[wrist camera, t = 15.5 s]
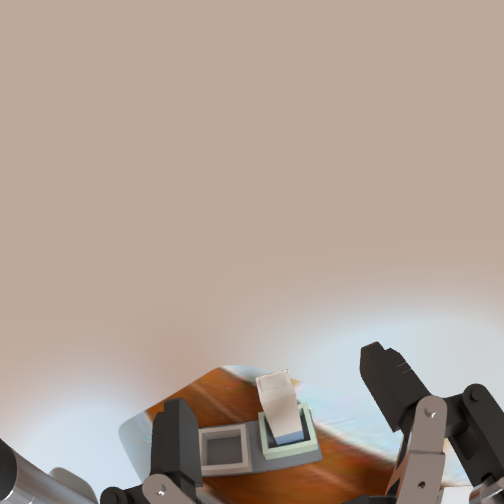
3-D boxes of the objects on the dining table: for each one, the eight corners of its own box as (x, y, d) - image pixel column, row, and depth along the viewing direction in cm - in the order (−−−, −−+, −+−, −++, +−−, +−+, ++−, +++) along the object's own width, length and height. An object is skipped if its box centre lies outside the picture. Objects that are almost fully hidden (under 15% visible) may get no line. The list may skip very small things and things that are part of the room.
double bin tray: (201, 477, 28) (193, 470, 27) (202, 429, 36) (196, 420, 35) (322, 460, 28) (322, 453, 27) (310, 411, 36) (308, 401, 35)
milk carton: (278, 448, 31) (258, 397, 25) (273, 428, 34) (253, 372, 28) (304, 441, 31) (294, 388, 25) (298, 421, 34) (286, 363, 28)
